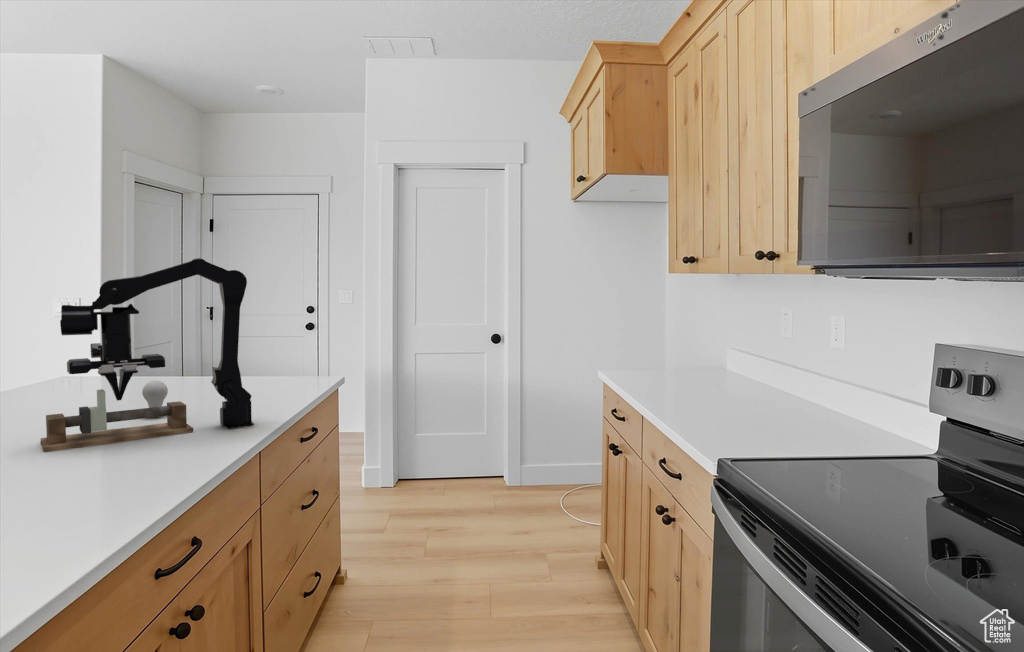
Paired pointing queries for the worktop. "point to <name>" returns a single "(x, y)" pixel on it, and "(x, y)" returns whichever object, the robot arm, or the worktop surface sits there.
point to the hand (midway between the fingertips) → (118, 400)
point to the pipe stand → (62, 441)
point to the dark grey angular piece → (85, 420)
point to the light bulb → (155, 393)
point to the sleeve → (99, 413)
